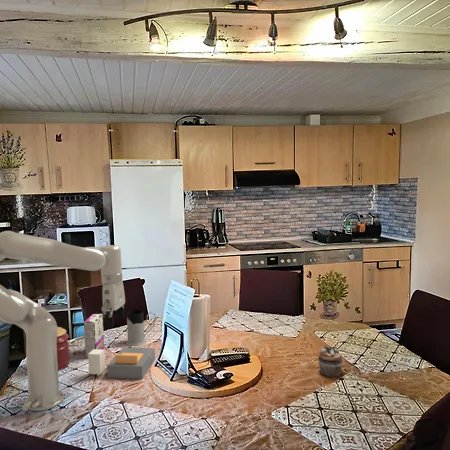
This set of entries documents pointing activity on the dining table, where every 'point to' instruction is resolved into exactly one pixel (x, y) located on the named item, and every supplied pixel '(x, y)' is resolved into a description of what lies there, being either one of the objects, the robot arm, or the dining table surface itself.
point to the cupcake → (330, 361)
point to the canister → (62, 348)
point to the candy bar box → (94, 333)
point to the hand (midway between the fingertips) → (114, 322)
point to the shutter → (128, 358)
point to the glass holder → (136, 327)
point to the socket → (132, 369)
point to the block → (96, 362)
